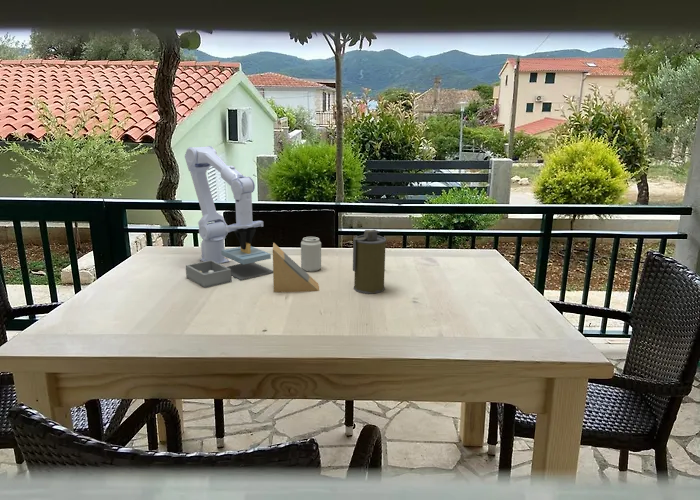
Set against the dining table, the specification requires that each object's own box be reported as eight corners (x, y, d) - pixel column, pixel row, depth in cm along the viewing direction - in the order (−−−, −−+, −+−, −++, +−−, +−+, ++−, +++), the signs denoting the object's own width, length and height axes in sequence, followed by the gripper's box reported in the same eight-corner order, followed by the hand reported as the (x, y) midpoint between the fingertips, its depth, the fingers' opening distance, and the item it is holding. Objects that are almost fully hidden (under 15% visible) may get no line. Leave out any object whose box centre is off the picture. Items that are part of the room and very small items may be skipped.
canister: (376, 282, 181) (378, 226, 176) (389, 291, 172) (392, 233, 166) (347, 285, 177) (348, 228, 172) (359, 295, 168) (360, 235, 162)
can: (318, 272, 190) (318, 241, 186) (298, 271, 191) (298, 240, 188) (323, 266, 197) (323, 236, 194) (303, 265, 198) (303, 235, 195)
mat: (218, 269, 192) (218, 268, 191) (251, 262, 201) (251, 261, 200) (240, 280, 180) (240, 279, 180) (274, 272, 189) (274, 271, 189)
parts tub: (186, 277, 182) (185, 265, 181) (212, 271, 189) (211, 260, 188) (204, 287, 172) (204, 275, 171) (231, 281, 179) (231, 269, 178)
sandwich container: (320, 291, 171) (320, 248, 167) (273, 293, 169) (272, 248, 165) (318, 283, 179) (318, 241, 175) (274, 284, 178) (273, 242, 174)
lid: (221, 254, 191) (220, 241, 189) (248, 249, 198) (247, 236, 197) (243, 264, 180) (242, 249, 178) (270, 258, 187) (270, 244, 186)
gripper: (231, 216, 177) (233, 254, 180) (267, 210, 186) (268, 247, 190) (221, 212, 182) (223, 249, 185) (256, 207, 191) (258, 243, 195)
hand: (245, 248), depth 188 cm, fingers closed on lid
